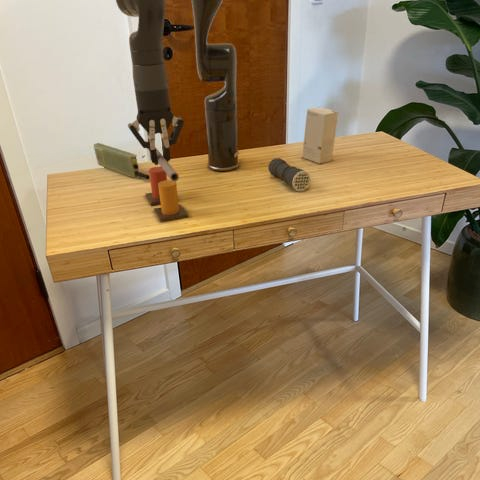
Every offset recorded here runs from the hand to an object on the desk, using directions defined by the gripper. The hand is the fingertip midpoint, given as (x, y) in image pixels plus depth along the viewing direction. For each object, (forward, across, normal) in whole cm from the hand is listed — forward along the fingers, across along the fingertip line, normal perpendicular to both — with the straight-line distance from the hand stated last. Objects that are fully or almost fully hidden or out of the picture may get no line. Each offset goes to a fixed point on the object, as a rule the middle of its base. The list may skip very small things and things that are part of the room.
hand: (160, 163), depth 114 cm
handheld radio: (+11, +6, -31) cm, 34 cm away
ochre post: (+11, 0, +5) cm, 12 cm away
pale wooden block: (+11, -54, -17) cm, 58 cm away
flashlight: (+11, -36, -2) cm, 38 cm away
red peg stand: (+11, 0, -6) cm, 13 cm away
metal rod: (0, 0, 0) cm, 0 cm away
